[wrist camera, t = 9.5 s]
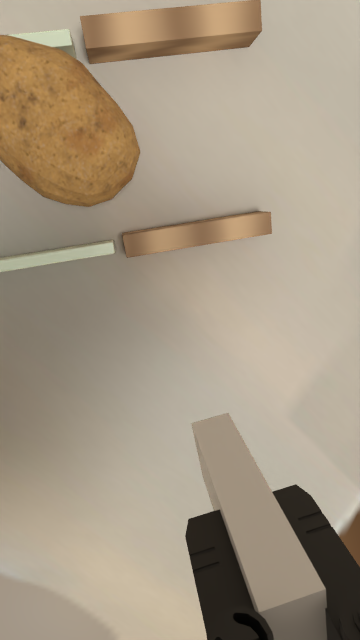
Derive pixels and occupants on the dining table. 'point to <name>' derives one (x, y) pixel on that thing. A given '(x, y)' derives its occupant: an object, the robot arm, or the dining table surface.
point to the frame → (65, 43)
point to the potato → (61, 126)
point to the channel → (172, 39)
